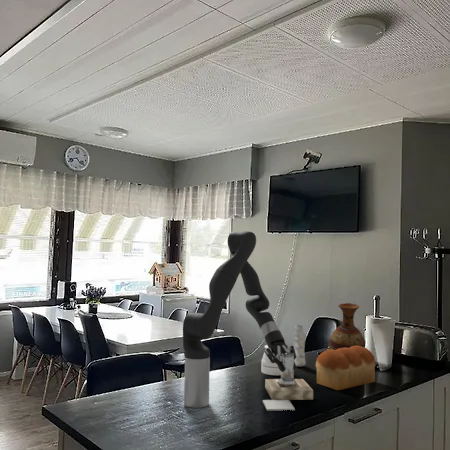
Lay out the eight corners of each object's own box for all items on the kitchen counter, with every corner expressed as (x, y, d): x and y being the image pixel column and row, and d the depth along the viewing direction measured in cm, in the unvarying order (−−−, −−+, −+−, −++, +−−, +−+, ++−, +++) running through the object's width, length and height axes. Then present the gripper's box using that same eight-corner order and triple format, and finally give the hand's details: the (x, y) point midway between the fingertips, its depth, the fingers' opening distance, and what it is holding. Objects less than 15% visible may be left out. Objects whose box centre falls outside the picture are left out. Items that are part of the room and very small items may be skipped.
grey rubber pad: (267, 410, 164) (267, 409, 164) (262, 401, 174) (262, 400, 174) (294, 410, 165) (294, 408, 165) (288, 401, 175) (288, 399, 175)
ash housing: (272, 399, 176) (272, 390, 176) (265, 387, 192) (265, 379, 192) (313, 399, 177) (313, 390, 178) (302, 387, 193) (302, 379, 193)
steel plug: (280, 386, 181) (281, 355, 182) (277, 381, 188) (278, 351, 189) (297, 386, 182) (297, 355, 183) (293, 381, 188) (293, 351, 189)
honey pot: (270, 367, 227) (270, 330, 229) (293, 371, 220) (293, 333, 221) (256, 372, 217) (256, 333, 218) (280, 376, 210) (280, 336, 211)
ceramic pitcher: (329, 362, 239) (329, 304, 240) (327, 354, 258) (327, 300, 260) (368, 364, 235) (368, 305, 237) (363, 356, 255) (363, 301, 257)
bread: (337, 391, 190) (337, 354, 190) (315, 383, 200) (315, 349, 201) (375, 382, 204) (375, 348, 205) (353, 375, 214) (353, 343, 215)
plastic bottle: (296, 364, 234) (296, 324, 235) (308, 366, 230) (308, 325, 231) (289, 366, 229) (289, 325, 230) (301, 368, 225) (301, 327, 226)
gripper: (261, 330, 190) (278, 366, 179) (289, 328, 197) (307, 363, 186) (254, 341, 194) (270, 377, 183) (281, 338, 201) (299, 373, 190)
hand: (289, 369), depth 184 cm, fingers closed on steel plug, 5 cm apart
